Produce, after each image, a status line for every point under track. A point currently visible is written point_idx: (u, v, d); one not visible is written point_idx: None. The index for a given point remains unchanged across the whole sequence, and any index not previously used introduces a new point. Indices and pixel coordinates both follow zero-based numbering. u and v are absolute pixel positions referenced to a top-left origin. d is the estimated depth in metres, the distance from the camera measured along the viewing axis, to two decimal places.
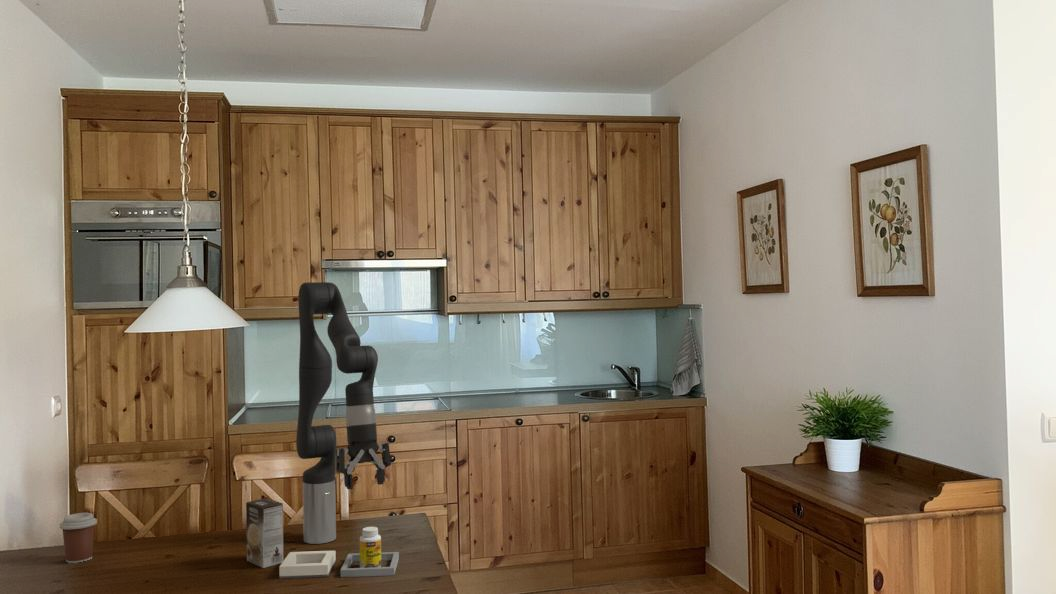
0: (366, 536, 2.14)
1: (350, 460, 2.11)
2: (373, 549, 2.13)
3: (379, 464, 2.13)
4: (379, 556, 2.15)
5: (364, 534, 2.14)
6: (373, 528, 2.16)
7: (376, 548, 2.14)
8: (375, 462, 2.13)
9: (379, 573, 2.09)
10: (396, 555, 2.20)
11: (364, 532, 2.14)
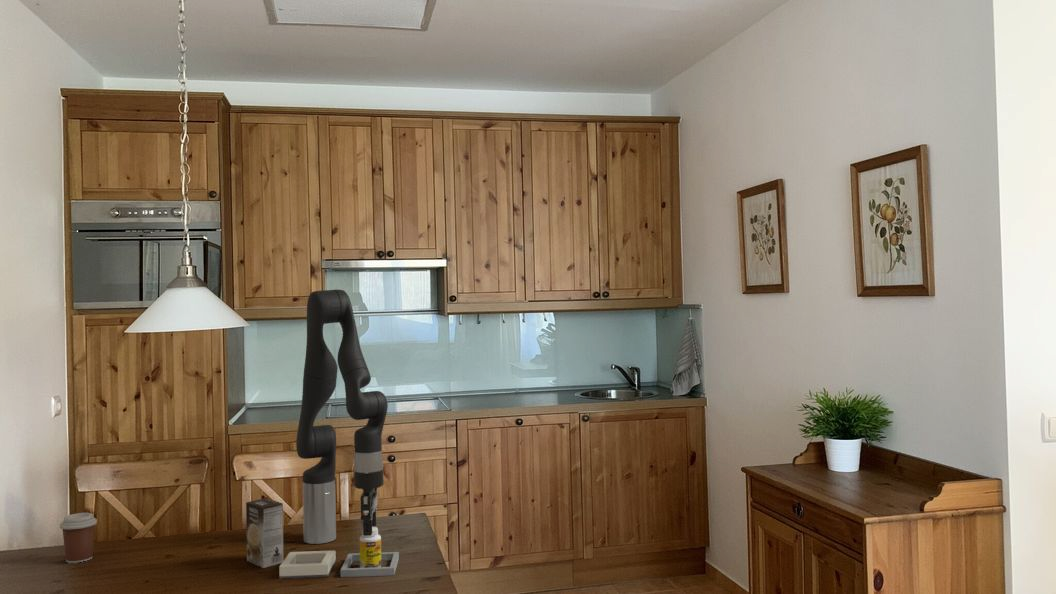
0: (366, 536, 2.14)
1: None
2: (373, 549, 2.13)
3: (375, 507, 2.19)
4: (379, 556, 2.15)
5: None
6: (373, 528, 2.16)
7: (376, 548, 2.14)
8: None
9: (379, 573, 2.09)
10: (396, 555, 2.20)
11: None
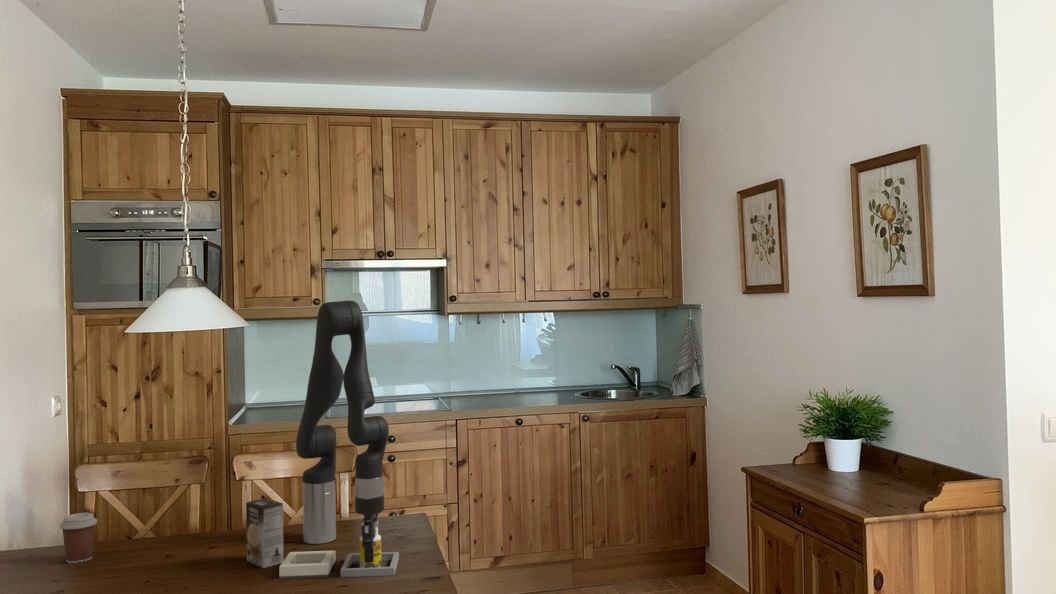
0: None
1: None
2: (373, 549, 2.13)
3: None
4: (379, 556, 2.15)
5: None
6: None
7: (376, 548, 2.14)
8: None
9: (379, 573, 2.09)
10: (396, 555, 2.20)
11: None
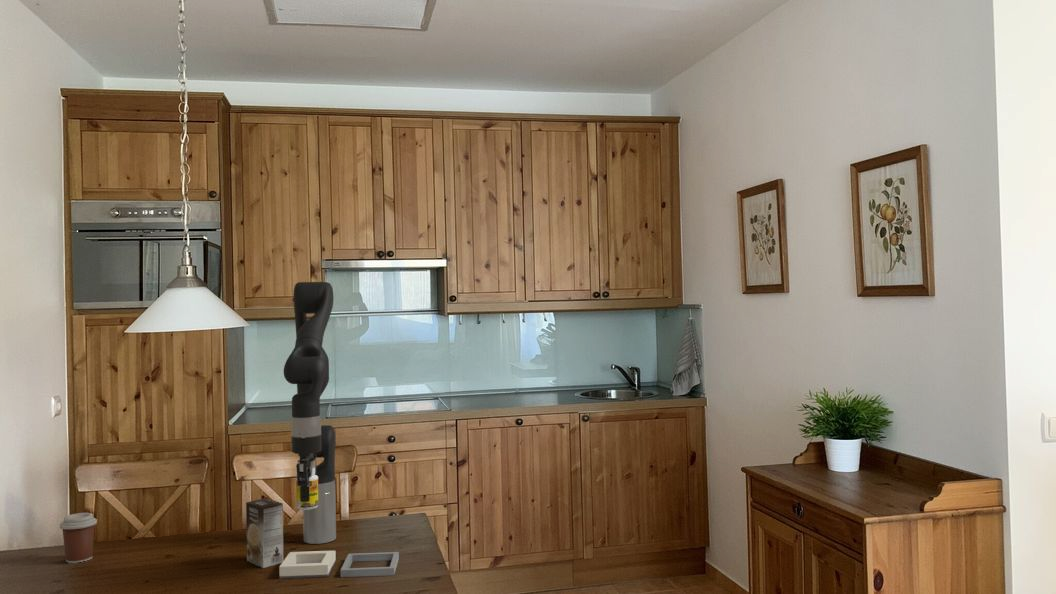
0: None
1: None
2: (309, 489, 2.12)
3: None
4: (315, 496, 2.14)
5: None
6: None
7: (312, 487, 2.13)
8: None
9: (379, 573, 2.09)
10: (396, 555, 2.20)
11: None
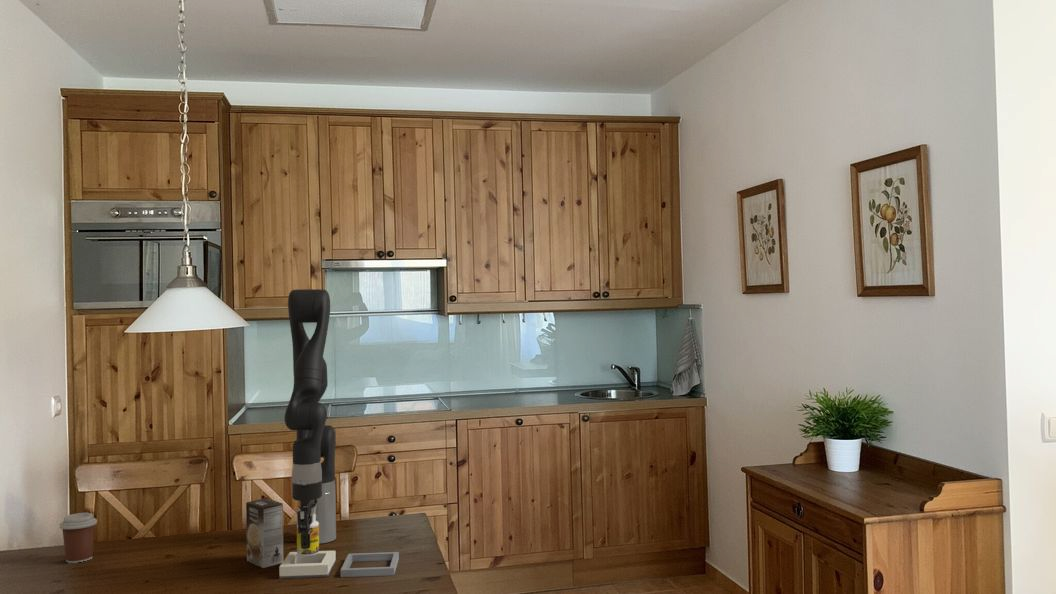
0: None
1: None
2: (310, 536, 2.12)
3: None
4: (316, 542, 2.13)
5: None
6: None
7: (313, 534, 2.13)
8: None
9: (379, 573, 2.09)
10: (396, 555, 2.20)
11: None
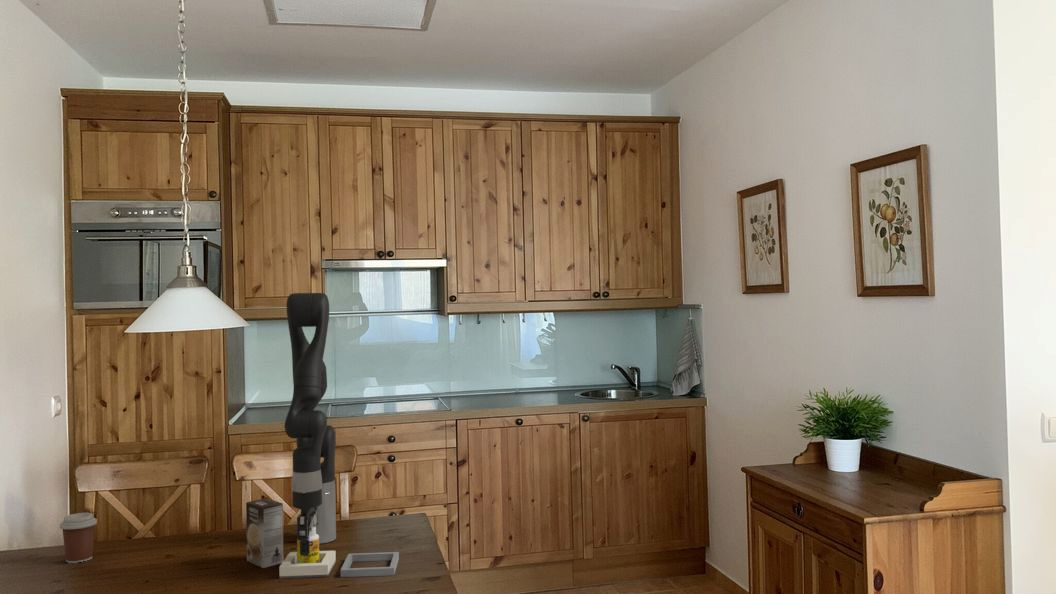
0: None
1: None
2: (310, 549, 2.12)
3: (315, 525, 2.18)
4: (316, 556, 2.14)
5: None
6: None
7: (313, 547, 2.13)
8: (312, 524, 2.18)
9: (379, 573, 2.09)
10: (396, 555, 2.20)
11: None
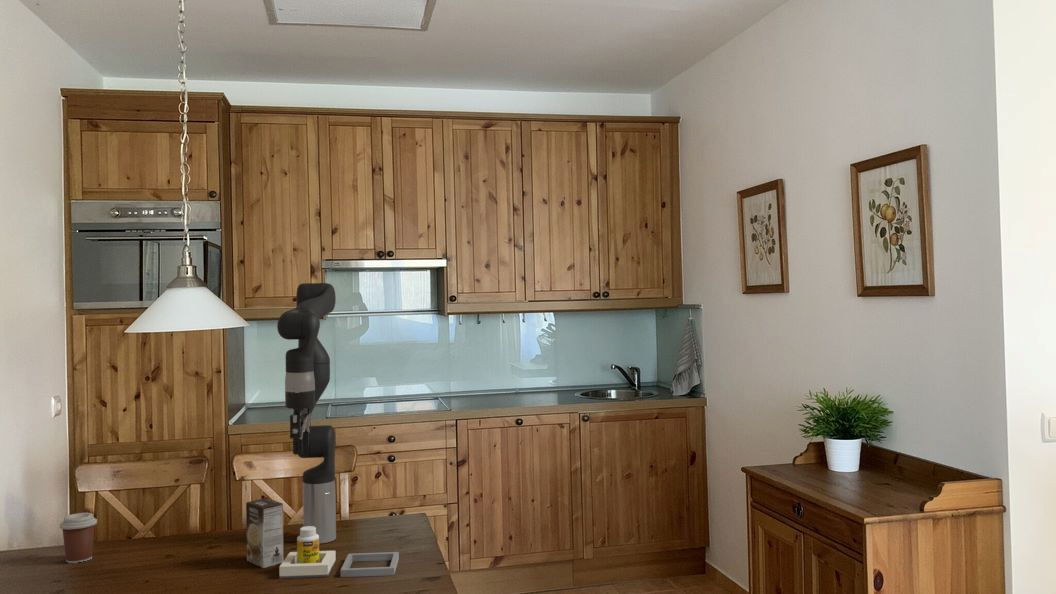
0: (303, 536, 2.13)
1: None
2: (310, 549, 2.12)
3: (308, 428, 2.20)
4: (316, 556, 2.14)
5: (301, 533, 2.13)
6: (311, 527, 2.15)
7: (313, 547, 2.13)
8: (305, 426, 2.19)
9: (379, 573, 2.09)
10: (396, 555, 2.20)
11: (301, 531, 2.13)
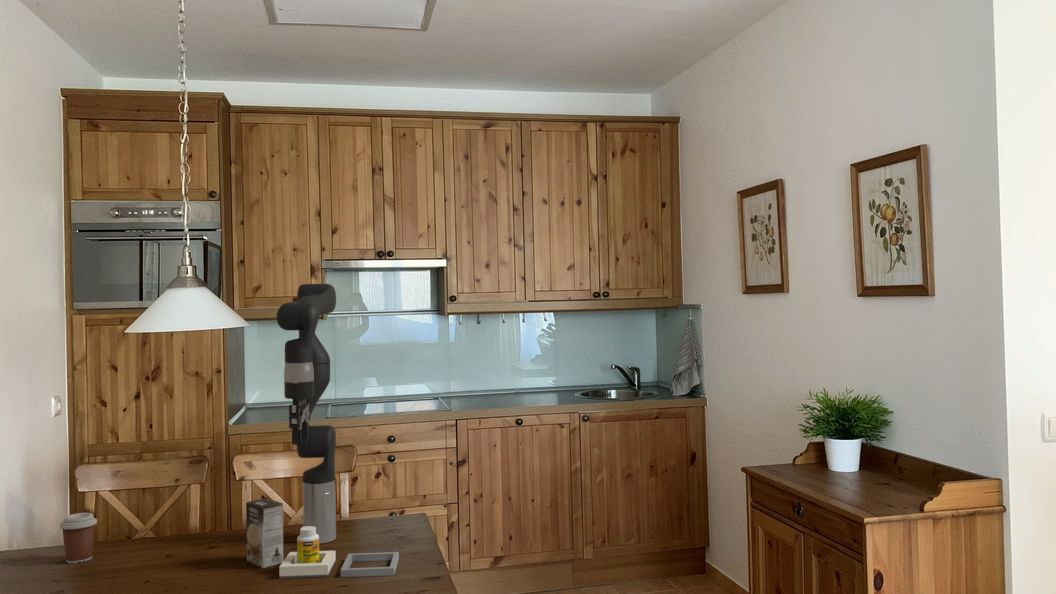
0: (303, 535, 2.13)
1: None
2: (310, 549, 2.12)
3: (307, 419, 2.20)
4: (316, 556, 2.14)
5: (301, 533, 2.13)
6: (311, 527, 2.15)
7: (313, 547, 2.13)
8: (304, 417, 2.19)
9: (379, 573, 2.09)
10: (396, 555, 2.20)
11: (301, 531, 2.13)
